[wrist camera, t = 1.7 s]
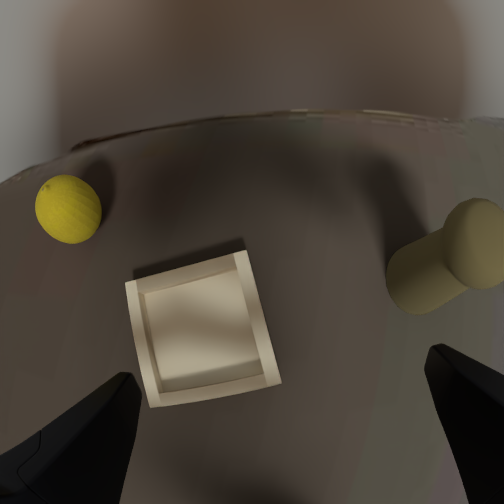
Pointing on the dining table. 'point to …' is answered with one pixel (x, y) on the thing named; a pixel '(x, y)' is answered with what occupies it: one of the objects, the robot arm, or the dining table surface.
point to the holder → (201, 332)
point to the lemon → (68, 209)
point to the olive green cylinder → (450, 259)
